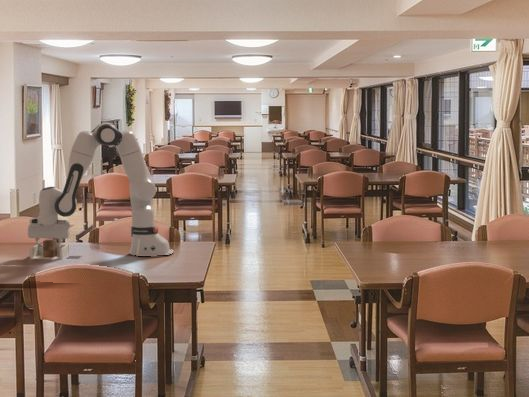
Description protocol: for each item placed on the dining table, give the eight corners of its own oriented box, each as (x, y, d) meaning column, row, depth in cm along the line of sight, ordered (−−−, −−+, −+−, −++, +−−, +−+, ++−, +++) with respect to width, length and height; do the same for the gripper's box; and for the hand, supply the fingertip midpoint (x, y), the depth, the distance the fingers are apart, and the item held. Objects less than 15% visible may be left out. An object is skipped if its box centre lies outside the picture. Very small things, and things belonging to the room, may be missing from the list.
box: (69, 255, 370) (68, 244, 369) (62, 260, 359) (62, 249, 359) (37, 255, 371) (37, 244, 370) (30, 259, 360) (29, 248, 359)
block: (56, 255, 368) (56, 239, 367) (53, 257, 363) (53, 241, 362) (46, 255, 368) (46, 239, 367) (43, 257, 363) (43, 241, 362)
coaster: (81, 257, 366) (81, 255, 366) (78, 259, 360) (78, 258, 360) (70, 256, 367) (70, 255, 367) (66, 259, 361) (66, 258, 361)
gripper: (71, 219, 366) (71, 246, 367) (30, 218, 366) (31, 245, 368) (67, 221, 359) (68, 248, 361) (26, 220, 360) (26, 247, 362)
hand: (49, 247), depth 365 cm, fingers open, 8 cm apart
